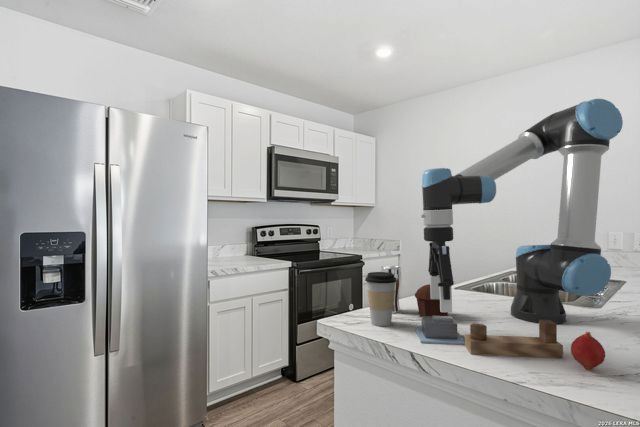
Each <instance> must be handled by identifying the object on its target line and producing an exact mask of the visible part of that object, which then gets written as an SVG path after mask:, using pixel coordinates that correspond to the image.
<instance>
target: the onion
mask: <svg viewBox="0 0 640 427" xmlns="http://www.w3.org/2000/svg"><path fill="white" fill-rule="evenodd" d="M570 352H571V356H572V357H573V359H574V360H575V361H576V362H577V363H578V364H579V365H580V366H582V367H583V368H584V370H588V371H591V370H593V369H595V368H596V367H599V366H600V365H601V364H603V363H604V361H605V358H606V351H605V348H604V347H603V345H602V344H601V342H599V340H598V339H596V338H595V337H593V335H592V334H591V332H590V331H586V332H585V333H583V334H581V335H579V336H578V337H576V338H575V339H574V340H573V341H572V343H571V344H570Z"/></svg>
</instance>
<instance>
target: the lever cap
mask: <svg viewBox="0 0 640 427" xmlns="http://www.w3.org/2000/svg"><path fill="white" fill-rule="evenodd" d="M421 328H422V332H423V334H424V336H425V338H432V339H455V340H457V332H458V323H457V322H456V320H455V319H454V317H452V316H451V315H448V316H422V317H421Z"/></svg>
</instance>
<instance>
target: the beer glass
mask: <svg viewBox="0 0 640 427" xmlns="http://www.w3.org/2000/svg"><path fill="white" fill-rule="evenodd" d="M380 268H381V269H380V270H381V271H380V272H388V273H393V274H394V277H395V278H396V282H395V288H394V290H395V293H394V304H393V309H392V314H396V313H400V312H401V308H400V307H401V306H400V295H401V294H400V292H401V288H402V270H401V266H398V265H397V266H395V265H383V266H381V267H380Z"/></svg>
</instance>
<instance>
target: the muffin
mask: <svg viewBox="0 0 640 427" xmlns="http://www.w3.org/2000/svg"><path fill="white" fill-rule="evenodd" d="M414 298H416V303H417V310H418V315H419V317H420V318H422V316H449V312H440V299H431V291H430V284H429V283H428V284H425V285H422V286H421V287H419V288H417V291H416V292H415V294H414Z"/></svg>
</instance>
